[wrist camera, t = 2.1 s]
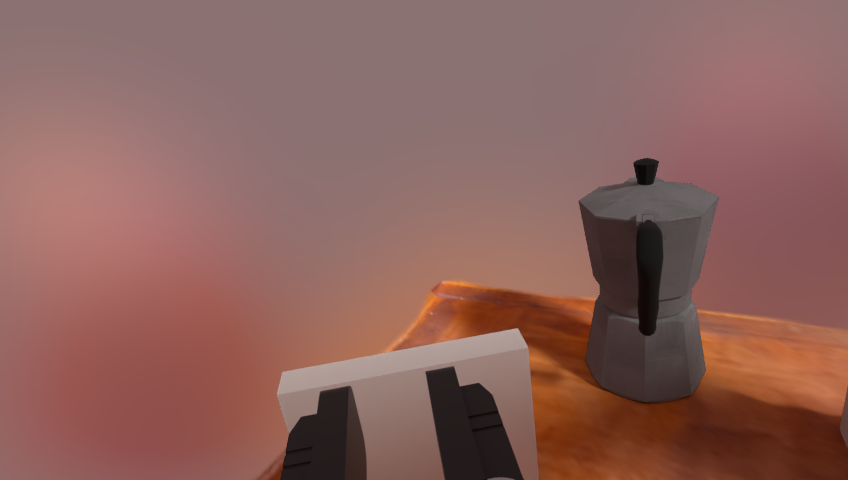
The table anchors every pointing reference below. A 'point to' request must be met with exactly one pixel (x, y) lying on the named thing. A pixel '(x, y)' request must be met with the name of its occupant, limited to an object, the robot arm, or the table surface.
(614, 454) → the table surface
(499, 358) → the tile
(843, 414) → the architectural model
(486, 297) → the table surface
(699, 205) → the coffeepot
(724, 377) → the table surface
